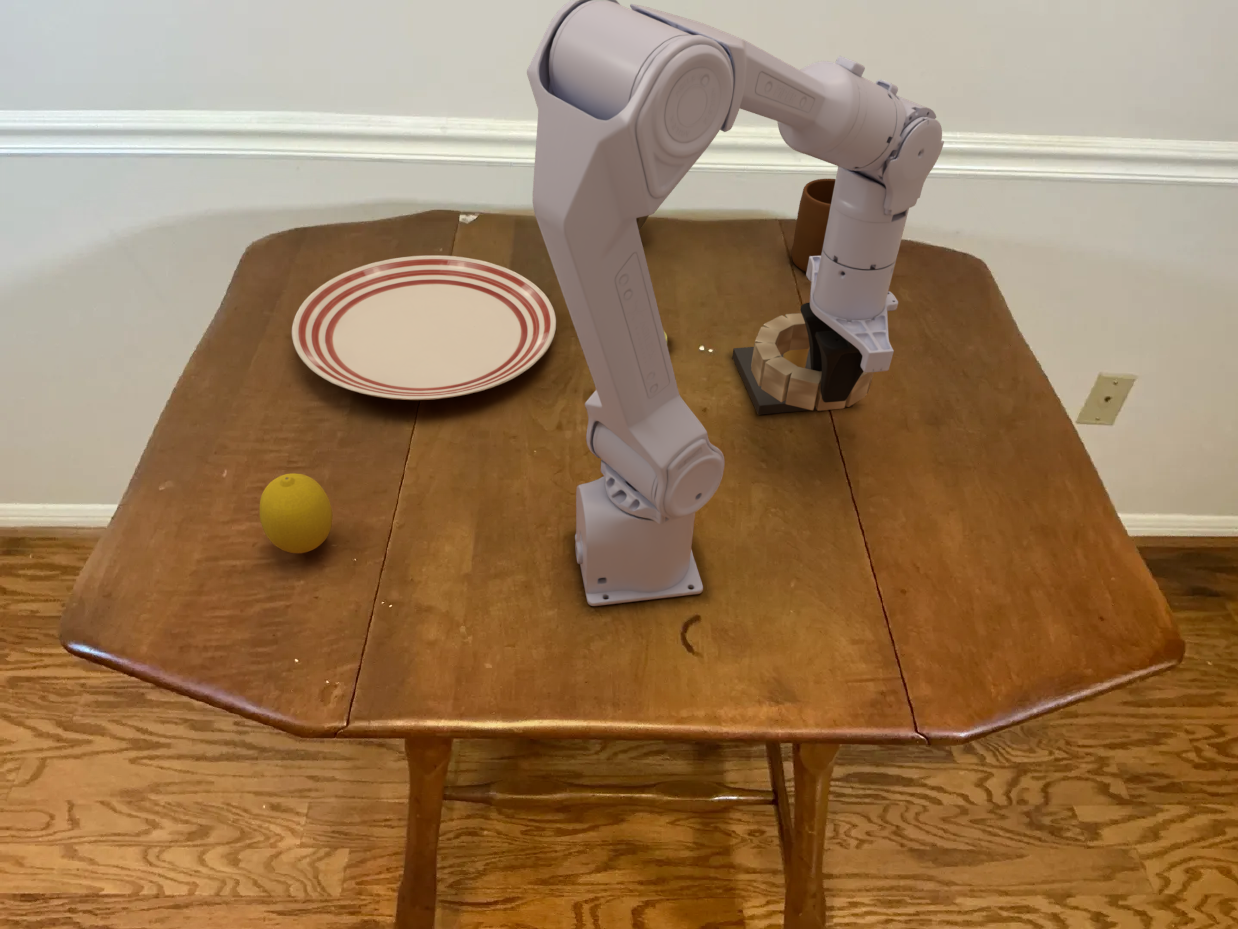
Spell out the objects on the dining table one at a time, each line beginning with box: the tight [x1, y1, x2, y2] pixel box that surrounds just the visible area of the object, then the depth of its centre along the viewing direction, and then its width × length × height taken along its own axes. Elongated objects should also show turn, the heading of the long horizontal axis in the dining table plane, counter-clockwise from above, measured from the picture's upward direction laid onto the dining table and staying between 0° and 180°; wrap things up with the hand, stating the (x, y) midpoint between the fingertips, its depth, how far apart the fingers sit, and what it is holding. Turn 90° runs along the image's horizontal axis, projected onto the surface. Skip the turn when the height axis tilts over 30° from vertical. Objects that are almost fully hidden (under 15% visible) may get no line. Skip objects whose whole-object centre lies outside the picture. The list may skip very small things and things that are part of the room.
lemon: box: [259, 472, 333, 554], centre depth 77 cm, size 6×6×8 cm
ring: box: [751, 312, 875, 411], centre depth 86 cm, size 11×11×3 cm
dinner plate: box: [291, 255, 557, 401], centre depth 101 cm, size 28×27×3 cm
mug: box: [791, 178, 836, 273], centre depth 113 cm, size 12×8×9 cm, turn 1°
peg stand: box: [731, 346, 854, 416], centre depth 97 cm, size 10×10×6 cm
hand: (828, 390), depth 83 cm, fingers closed on ring, 2 cm apart
